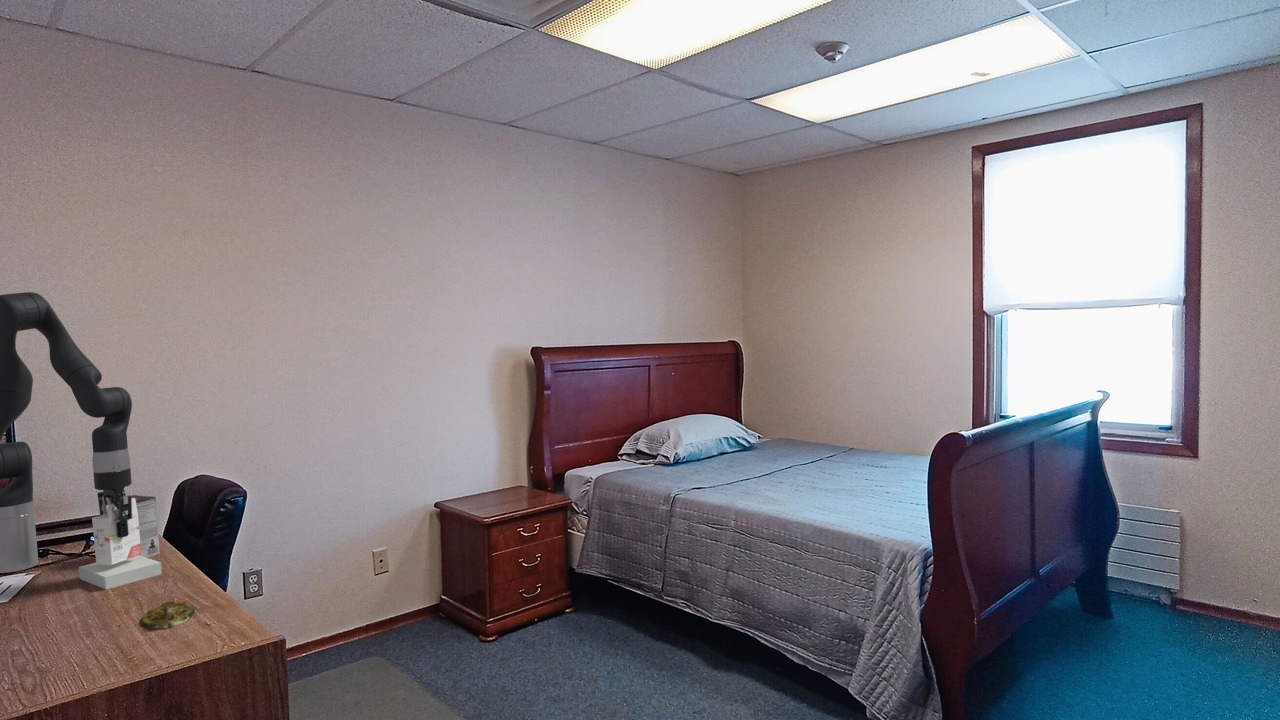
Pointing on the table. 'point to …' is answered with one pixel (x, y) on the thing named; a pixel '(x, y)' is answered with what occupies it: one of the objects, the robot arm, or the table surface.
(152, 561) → the plinth
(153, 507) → the coffee box
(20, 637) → the table surface
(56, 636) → the table surface
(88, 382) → the robot arm
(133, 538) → the ink cartridge box
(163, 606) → the olive green oval lump
